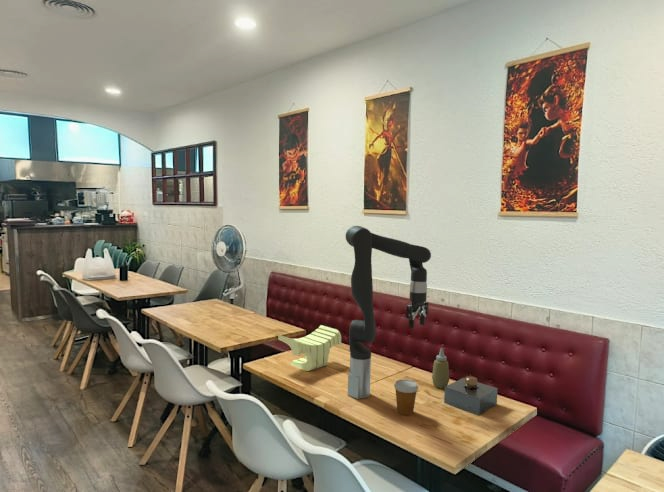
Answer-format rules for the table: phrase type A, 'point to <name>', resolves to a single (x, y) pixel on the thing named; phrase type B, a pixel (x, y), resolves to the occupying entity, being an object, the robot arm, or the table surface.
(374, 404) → the table surface
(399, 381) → the disposable coffee cup
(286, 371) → the table surface
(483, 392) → the block
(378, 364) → the table surface
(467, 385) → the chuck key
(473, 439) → the table surface
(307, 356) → the slatted curved stool
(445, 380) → the squeeze bottle
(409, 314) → the robot arm
